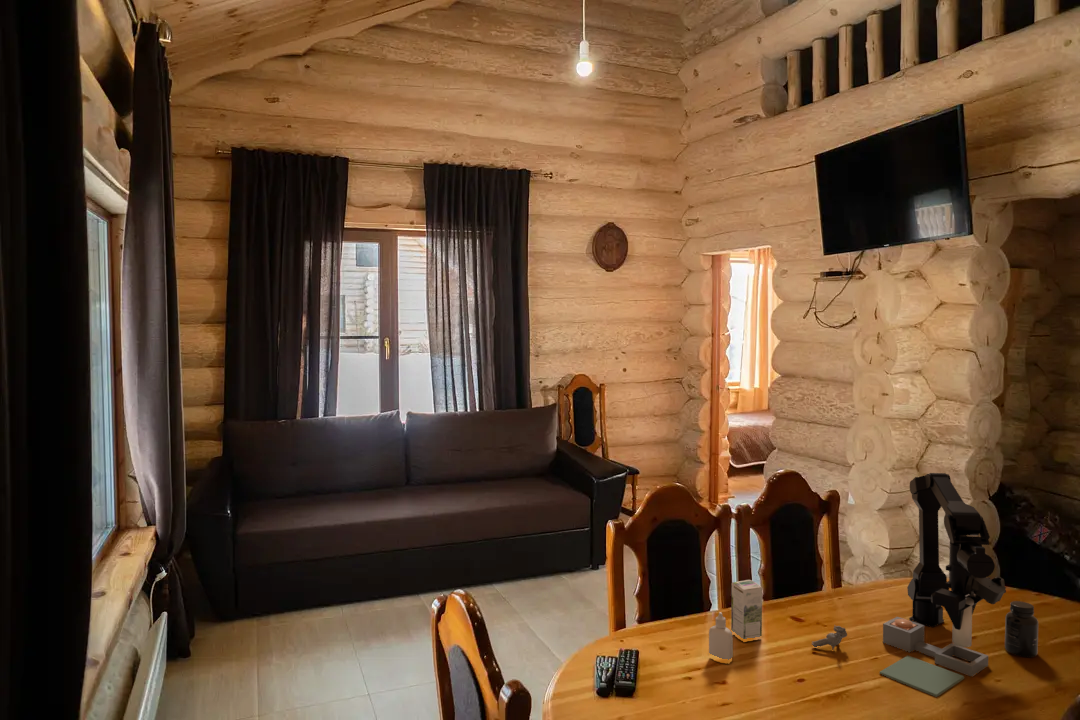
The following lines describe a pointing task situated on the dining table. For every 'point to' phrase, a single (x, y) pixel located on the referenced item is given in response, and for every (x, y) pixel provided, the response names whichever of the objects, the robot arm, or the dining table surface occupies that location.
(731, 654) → the eye dropper bottle
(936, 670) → the green mat
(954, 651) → the grey long framed piece
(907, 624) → the plunger
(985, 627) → the dining table surface
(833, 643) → the grey limbed figure piece
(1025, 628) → the supplement bottle
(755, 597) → the syrup box
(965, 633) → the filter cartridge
